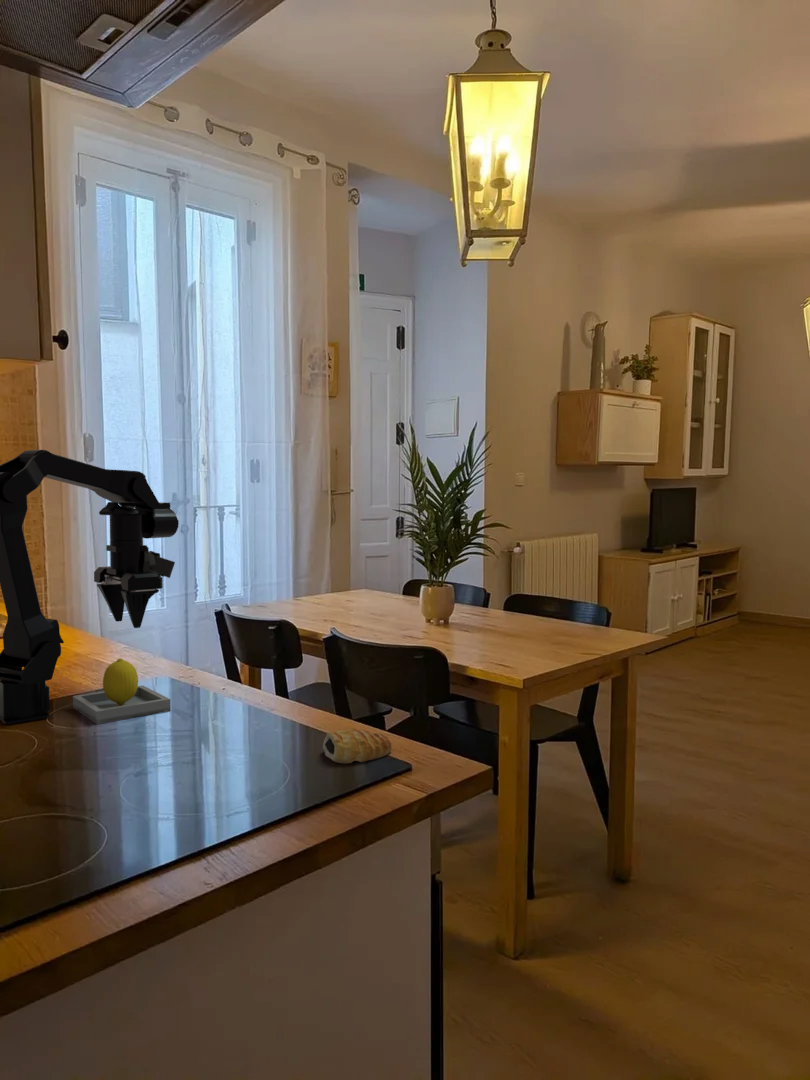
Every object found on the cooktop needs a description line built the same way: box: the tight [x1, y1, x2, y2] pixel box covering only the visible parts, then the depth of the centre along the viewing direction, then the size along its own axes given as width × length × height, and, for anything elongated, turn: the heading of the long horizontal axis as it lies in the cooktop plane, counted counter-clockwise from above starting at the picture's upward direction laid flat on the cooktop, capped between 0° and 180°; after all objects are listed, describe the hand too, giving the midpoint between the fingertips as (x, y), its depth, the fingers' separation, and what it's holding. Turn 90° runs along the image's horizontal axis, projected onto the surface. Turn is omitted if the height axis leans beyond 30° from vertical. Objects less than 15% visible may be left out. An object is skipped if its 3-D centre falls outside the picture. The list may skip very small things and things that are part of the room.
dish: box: [72, 685, 172, 725], centre depth 130 cm, size 12×12×2 cm
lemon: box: [102, 658, 139, 706], centre depth 130 cm, size 6×6×8 cm
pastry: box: [322, 728, 393, 765], centre depth 108 cm, size 9×7×4 cm
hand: (127, 624), depth 143 cm, fingers open, 9 cm apart
